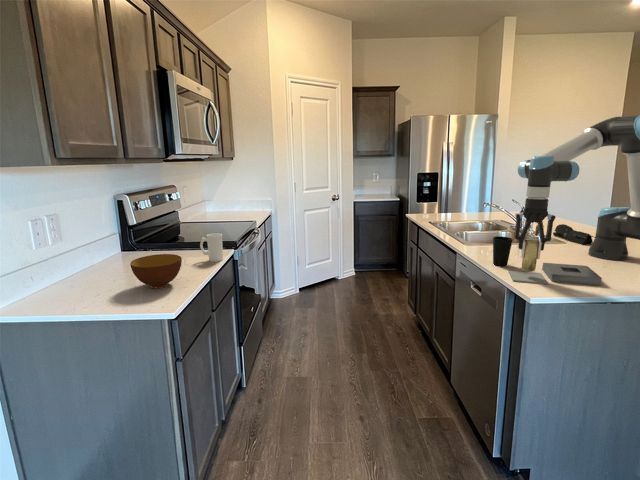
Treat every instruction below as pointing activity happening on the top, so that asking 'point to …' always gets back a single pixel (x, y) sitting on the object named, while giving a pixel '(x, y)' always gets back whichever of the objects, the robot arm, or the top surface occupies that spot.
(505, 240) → the cup
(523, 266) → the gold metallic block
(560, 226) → the black flashlight
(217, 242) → the mug
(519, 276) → the mat
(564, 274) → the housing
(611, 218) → the robot arm
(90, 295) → the top surface
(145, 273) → the bowl
